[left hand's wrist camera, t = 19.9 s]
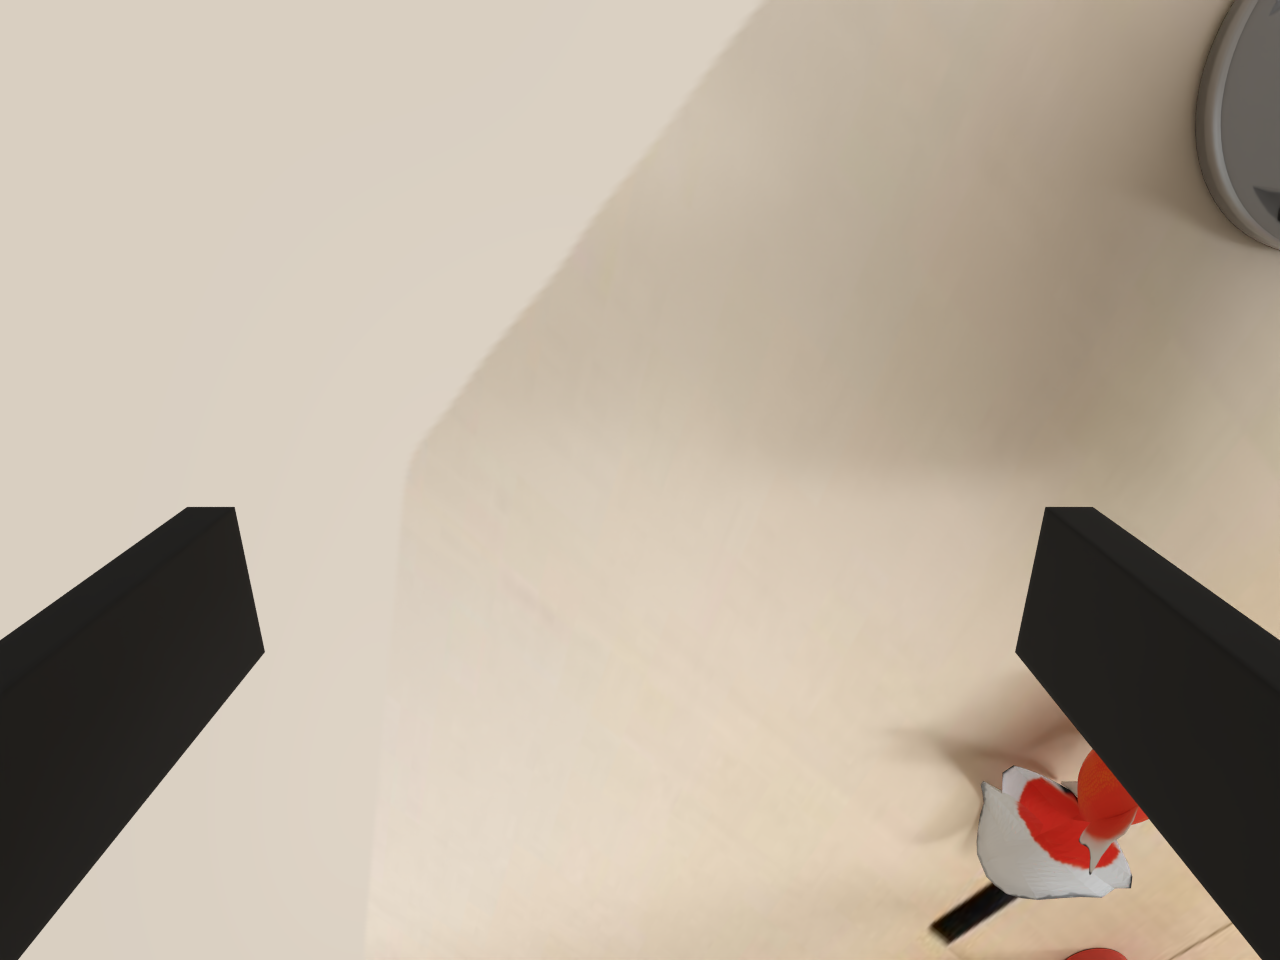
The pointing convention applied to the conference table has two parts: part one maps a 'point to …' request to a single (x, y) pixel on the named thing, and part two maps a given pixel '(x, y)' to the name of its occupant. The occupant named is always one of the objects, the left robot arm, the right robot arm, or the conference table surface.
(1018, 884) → the fish
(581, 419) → the conference table surface
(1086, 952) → the canister
